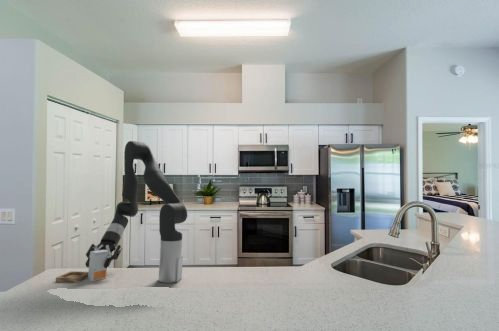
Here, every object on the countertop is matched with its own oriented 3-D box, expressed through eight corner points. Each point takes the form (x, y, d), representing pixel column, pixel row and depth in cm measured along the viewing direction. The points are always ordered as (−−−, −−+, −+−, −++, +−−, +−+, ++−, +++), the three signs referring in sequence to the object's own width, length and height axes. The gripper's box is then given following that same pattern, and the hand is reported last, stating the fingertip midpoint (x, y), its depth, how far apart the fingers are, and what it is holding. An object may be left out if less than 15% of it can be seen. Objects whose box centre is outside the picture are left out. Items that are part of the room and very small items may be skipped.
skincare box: (91, 282, 113) (94, 252, 114) (87, 279, 116) (89, 251, 117) (106, 278, 118) (108, 250, 119) (102, 276, 120) (104, 249, 122)
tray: (90, 276, 120) (90, 272, 121) (76, 282, 111) (76, 278, 112) (71, 275, 121) (71, 271, 121) (55, 281, 112) (55, 277, 112)
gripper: (95, 229, 126) (76, 261, 114) (125, 230, 126) (109, 262, 113) (101, 239, 131) (83, 270, 119) (130, 240, 130) (115, 272, 118)
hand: (96, 266), depth 116 cm, fingers open, 7 cm apart
